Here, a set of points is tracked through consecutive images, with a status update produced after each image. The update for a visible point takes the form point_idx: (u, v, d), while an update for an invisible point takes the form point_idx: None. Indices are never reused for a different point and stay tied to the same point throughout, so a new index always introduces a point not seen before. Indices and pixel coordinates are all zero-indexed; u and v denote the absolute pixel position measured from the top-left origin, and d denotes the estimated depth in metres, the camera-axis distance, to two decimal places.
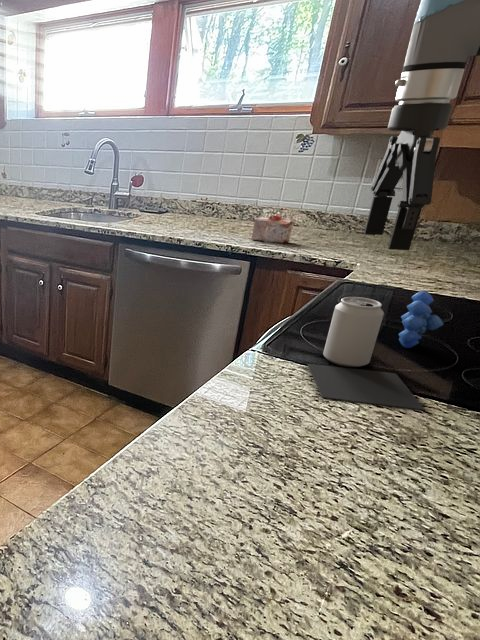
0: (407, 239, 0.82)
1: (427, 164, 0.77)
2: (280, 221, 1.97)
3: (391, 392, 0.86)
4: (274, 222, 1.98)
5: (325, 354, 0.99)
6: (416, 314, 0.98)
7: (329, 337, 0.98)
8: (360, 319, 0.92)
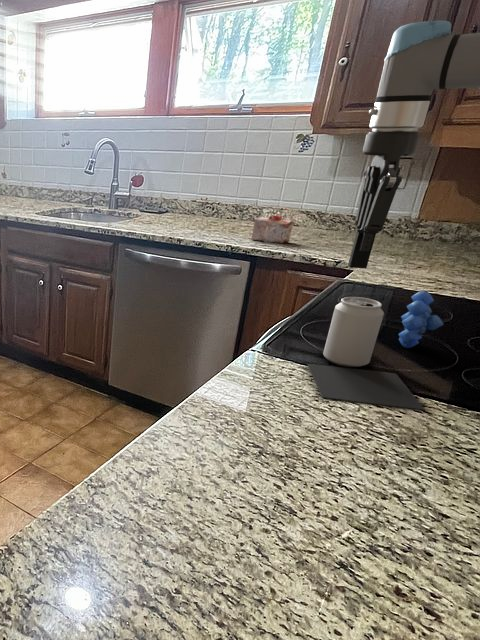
0: (364, 259, 0.97)
1: (386, 199, 0.89)
2: (280, 221, 1.97)
3: (391, 392, 0.86)
4: (274, 222, 1.98)
5: (325, 354, 0.99)
6: (416, 314, 0.98)
7: (329, 337, 0.98)
8: (360, 319, 0.92)
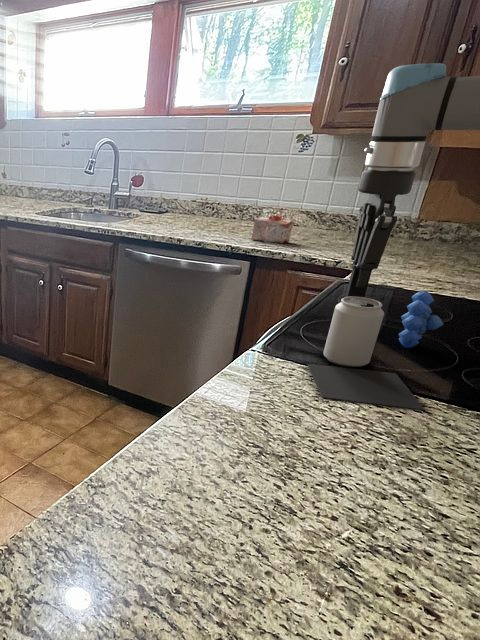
0: (361, 295, 0.97)
1: (381, 238, 0.89)
2: (280, 221, 1.97)
3: (391, 392, 0.86)
4: (274, 222, 1.98)
5: (325, 354, 0.99)
6: (416, 314, 0.98)
7: (329, 337, 0.97)
8: (360, 320, 0.92)
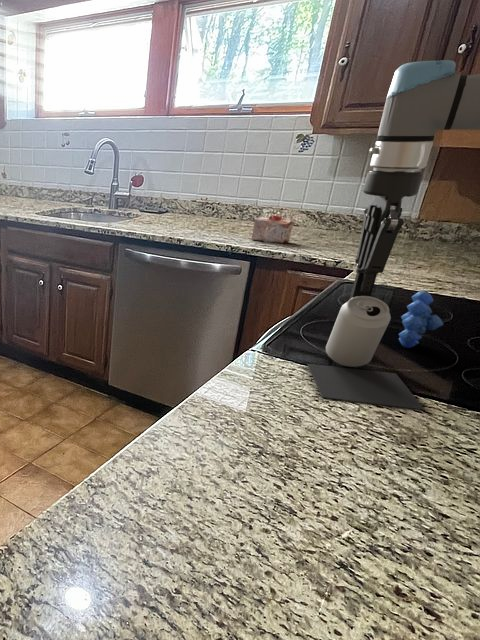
0: None
1: (387, 241, 0.86)
2: (280, 221, 1.97)
3: (391, 392, 0.86)
4: (274, 222, 1.98)
5: (327, 351, 0.98)
6: (416, 314, 0.98)
7: (332, 337, 0.96)
8: (363, 330, 0.89)
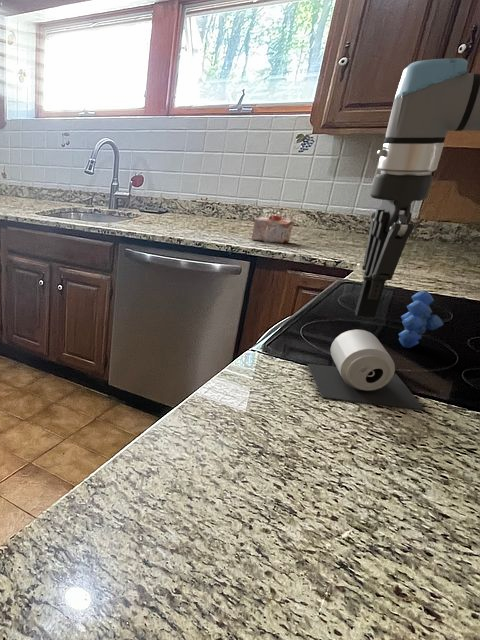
0: (373, 308, 0.90)
1: (396, 248, 0.82)
2: (280, 221, 1.97)
3: (391, 392, 0.86)
4: (274, 222, 1.98)
5: (331, 351, 0.95)
6: (416, 314, 0.98)
7: (334, 358, 0.92)
8: None
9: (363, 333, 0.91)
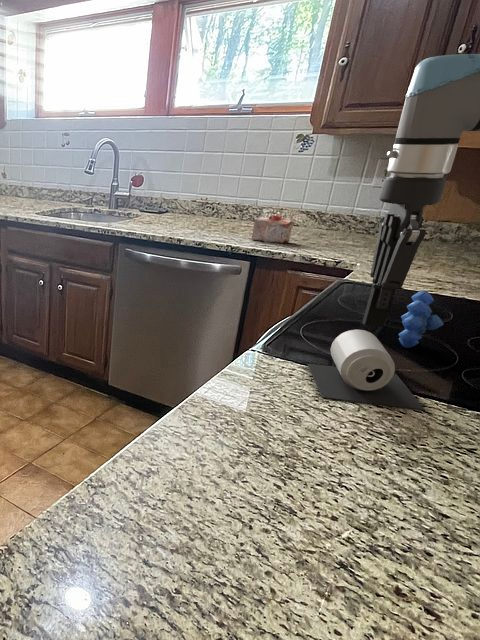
0: (381, 317, 0.86)
1: (407, 254, 0.78)
2: (280, 221, 1.97)
3: (391, 392, 0.86)
4: (274, 222, 1.98)
5: (331, 351, 0.95)
6: (416, 314, 0.98)
7: (334, 358, 0.92)
8: None
9: (363, 333, 0.91)
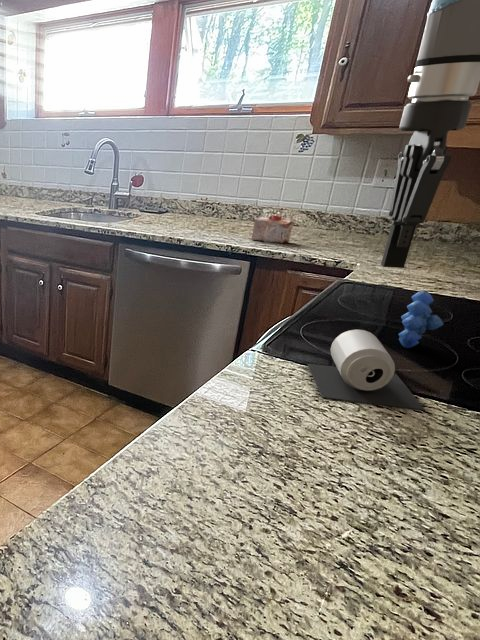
0: (402, 257, 0.81)
1: (430, 184, 0.73)
2: (280, 221, 1.97)
3: (391, 392, 0.86)
4: (274, 222, 1.98)
5: (331, 351, 0.95)
6: (416, 314, 0.98)
7: (334, 357, 0.92)
8: None
9: (363, 333, 0.91)
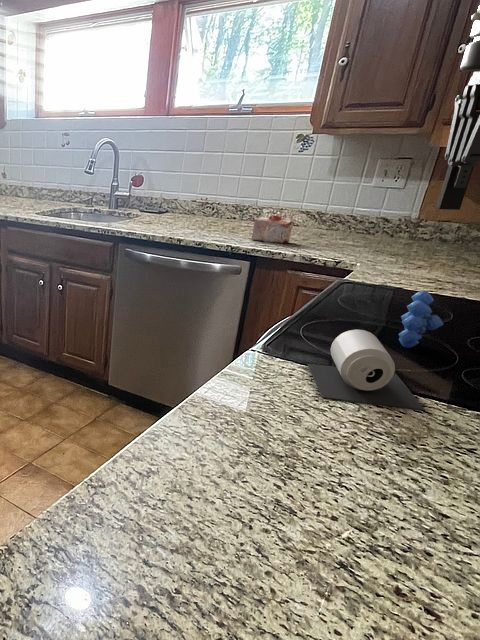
0: (458, 198, 0.83)
1: None
2: (280, 221, 1.97)
3: (391, 392, 0.86)
4: (274, 222, 1.98)
5: (331, 351, 0.95)
6: (416, 314, 0.98)
7: (334, 357, 0.92)
8: None
9: (363, 333, 0.91)
